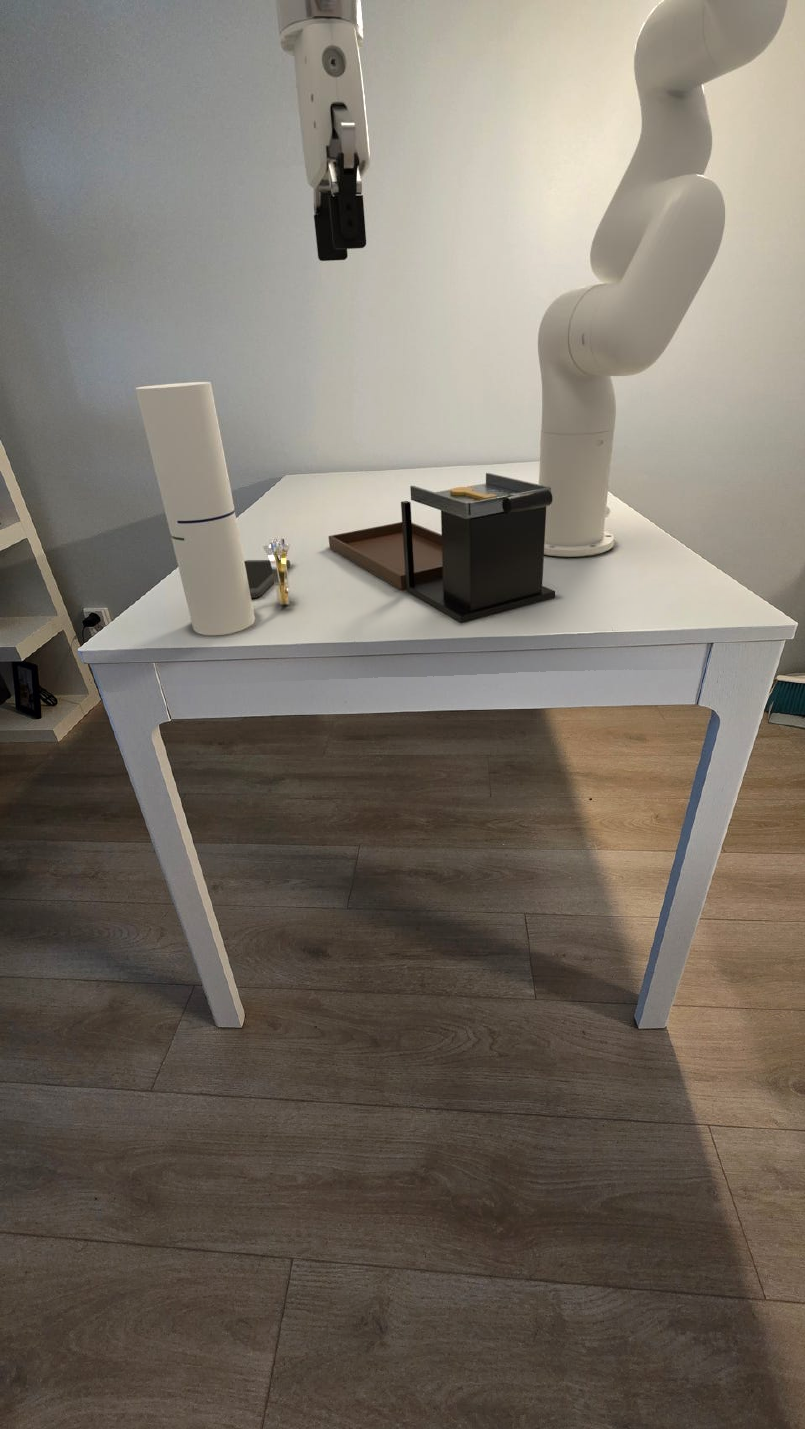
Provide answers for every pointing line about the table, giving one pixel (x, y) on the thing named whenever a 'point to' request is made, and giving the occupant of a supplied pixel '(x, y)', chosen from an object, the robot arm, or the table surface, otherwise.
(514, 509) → the dark tilted plate
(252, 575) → the cell phone
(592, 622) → the table surface
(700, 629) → the table surface
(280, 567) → the ring
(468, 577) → the stand
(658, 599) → the table surface
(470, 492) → the yellow i-shaped piece
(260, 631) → the table surface
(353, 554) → the tray
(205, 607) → the cylindrical container
